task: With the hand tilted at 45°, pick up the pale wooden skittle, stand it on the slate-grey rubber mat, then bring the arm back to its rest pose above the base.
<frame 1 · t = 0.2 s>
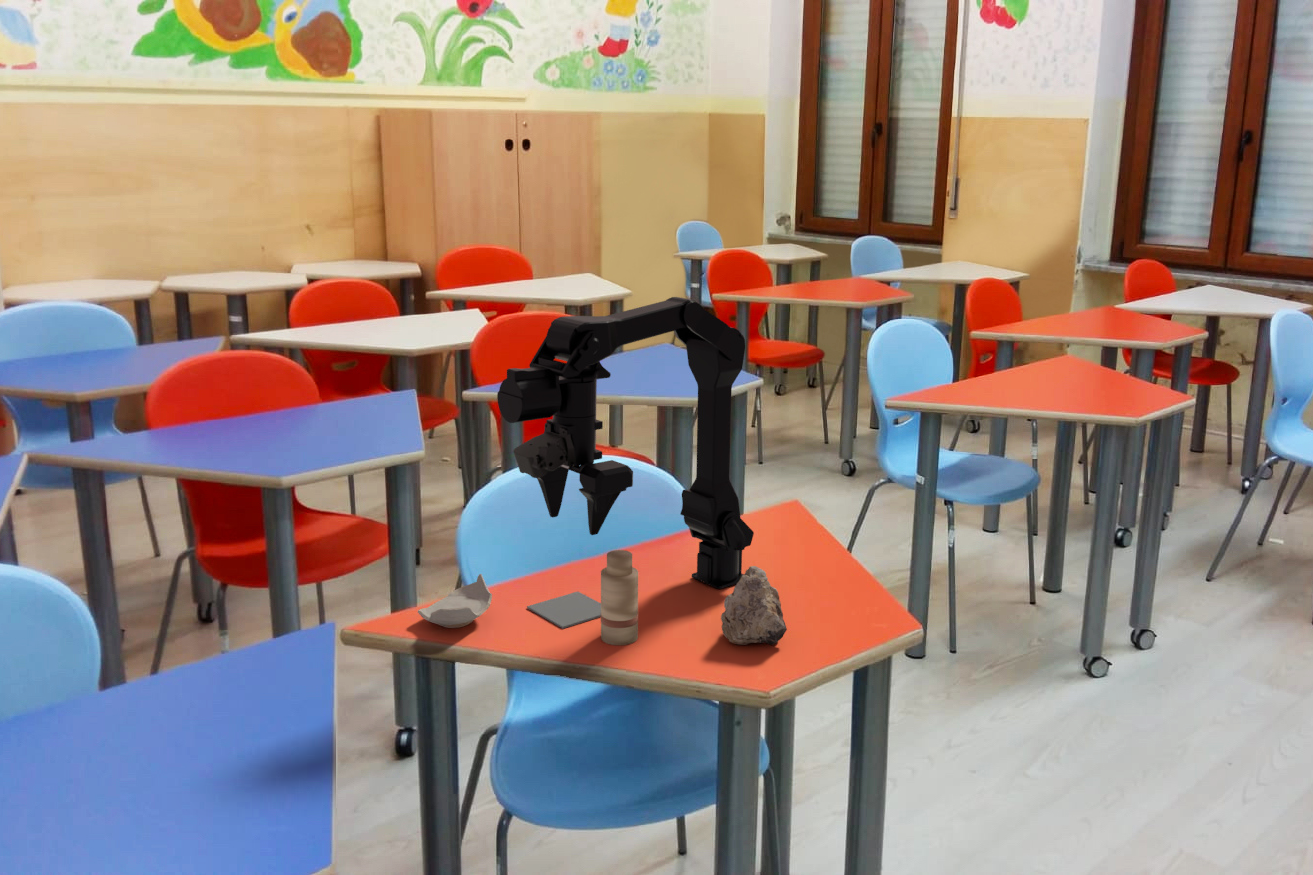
hand: (573, 525, 151), 15 cm above the table, fingers open, 9 cm apart
mat: (570, 610, 160), on the table
pottery shard: (455, 624, 156), on the table
rock: (747, 639, 152), on the table
skittle: (619, 637, 152), on the table
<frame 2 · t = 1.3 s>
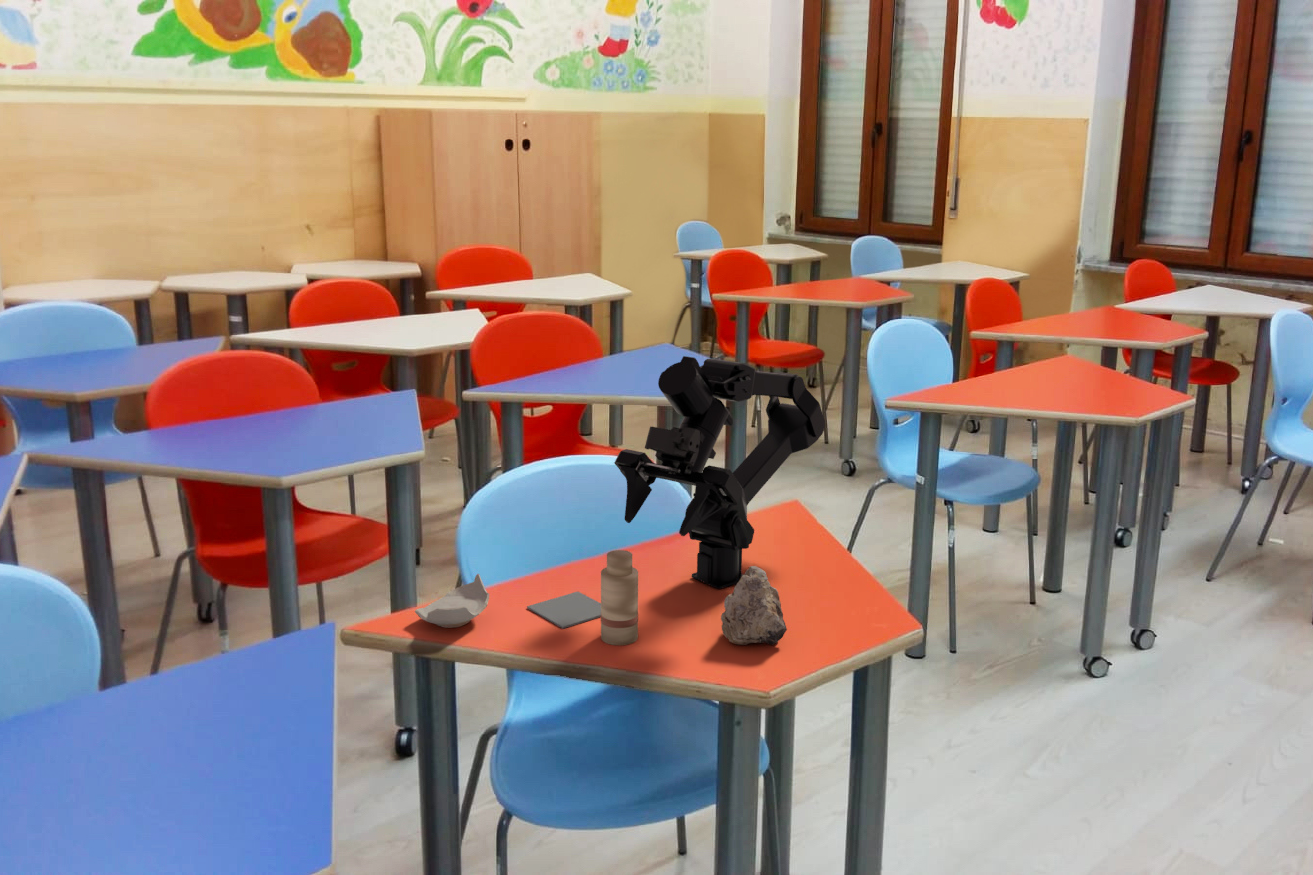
hand: (653, 528, 155), 13 cm above the table, fingers open, 9 cm apart
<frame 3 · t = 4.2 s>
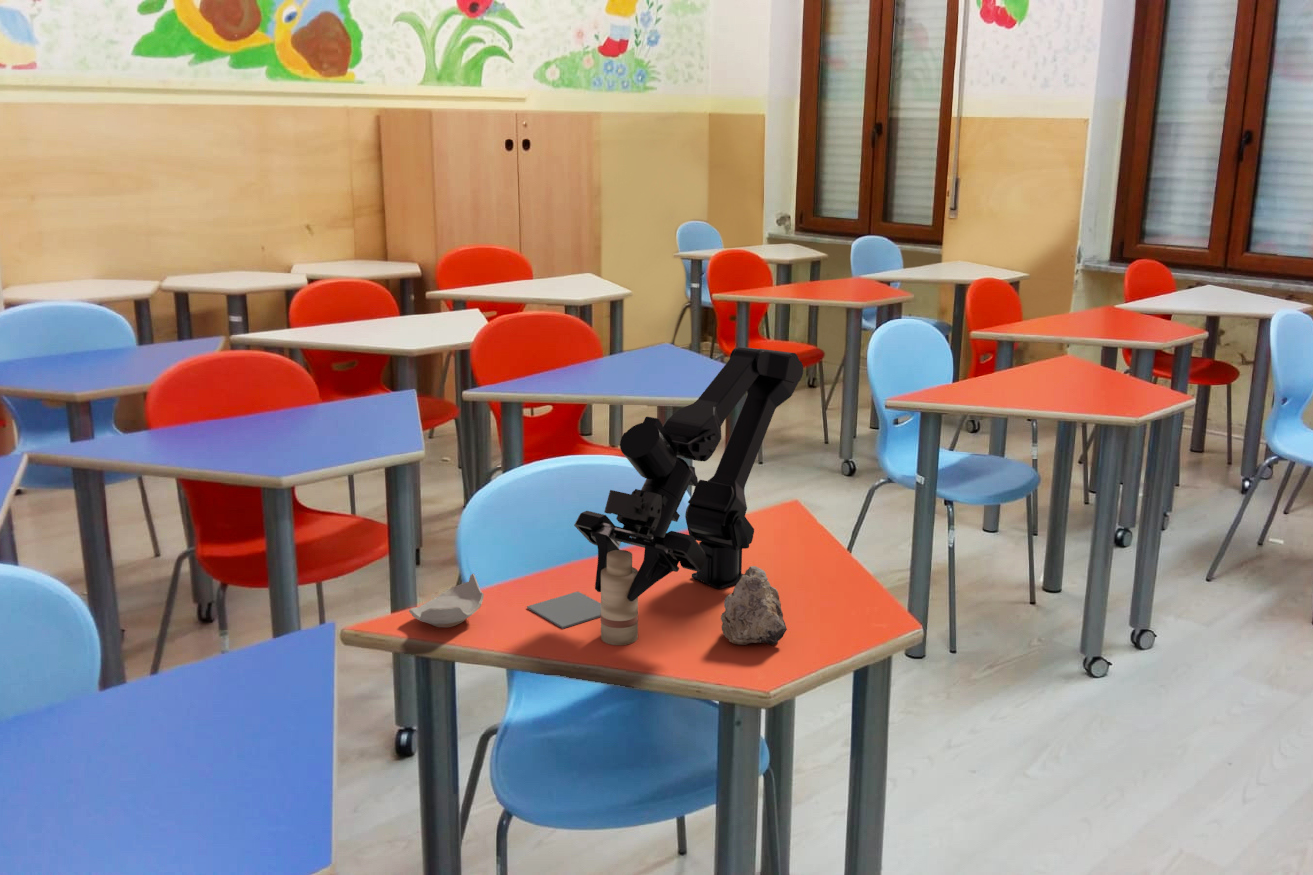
hand: (613, 595, 149), 7 cm above the table, fingers closed on skittle, 5 cm apart
skittle: (619, 637, 152), on the table, touching gripper
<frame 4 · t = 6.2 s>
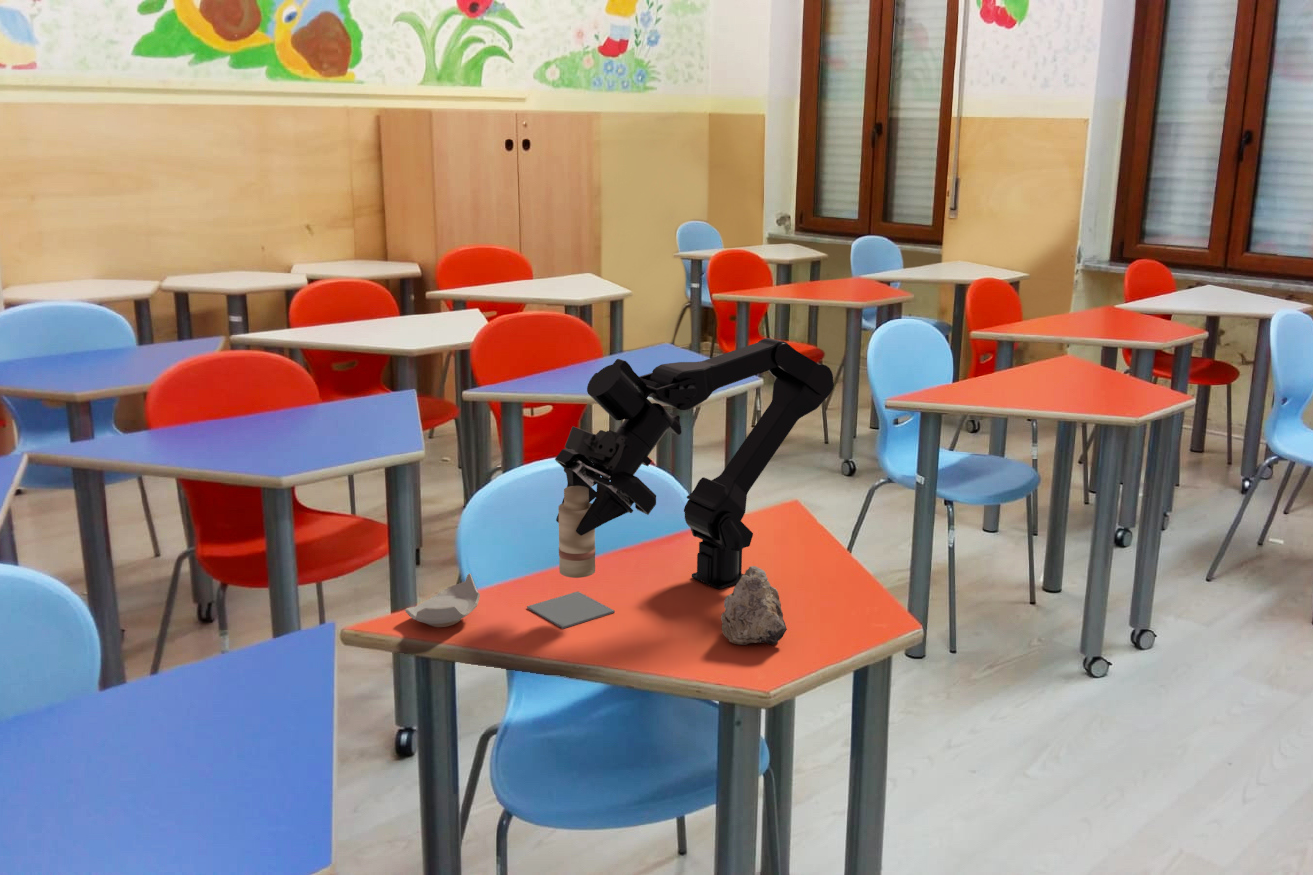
hand: (568, 528, 154), 13 cm above the table, fingers closed on skittle, 5 cm apart
skittle: (577, 570, 156), point 7 cm above the table, touching gripper
when the fingers open (8 cm above the table, at t = 8.1 s): skittle stays where it is, resting on mat.
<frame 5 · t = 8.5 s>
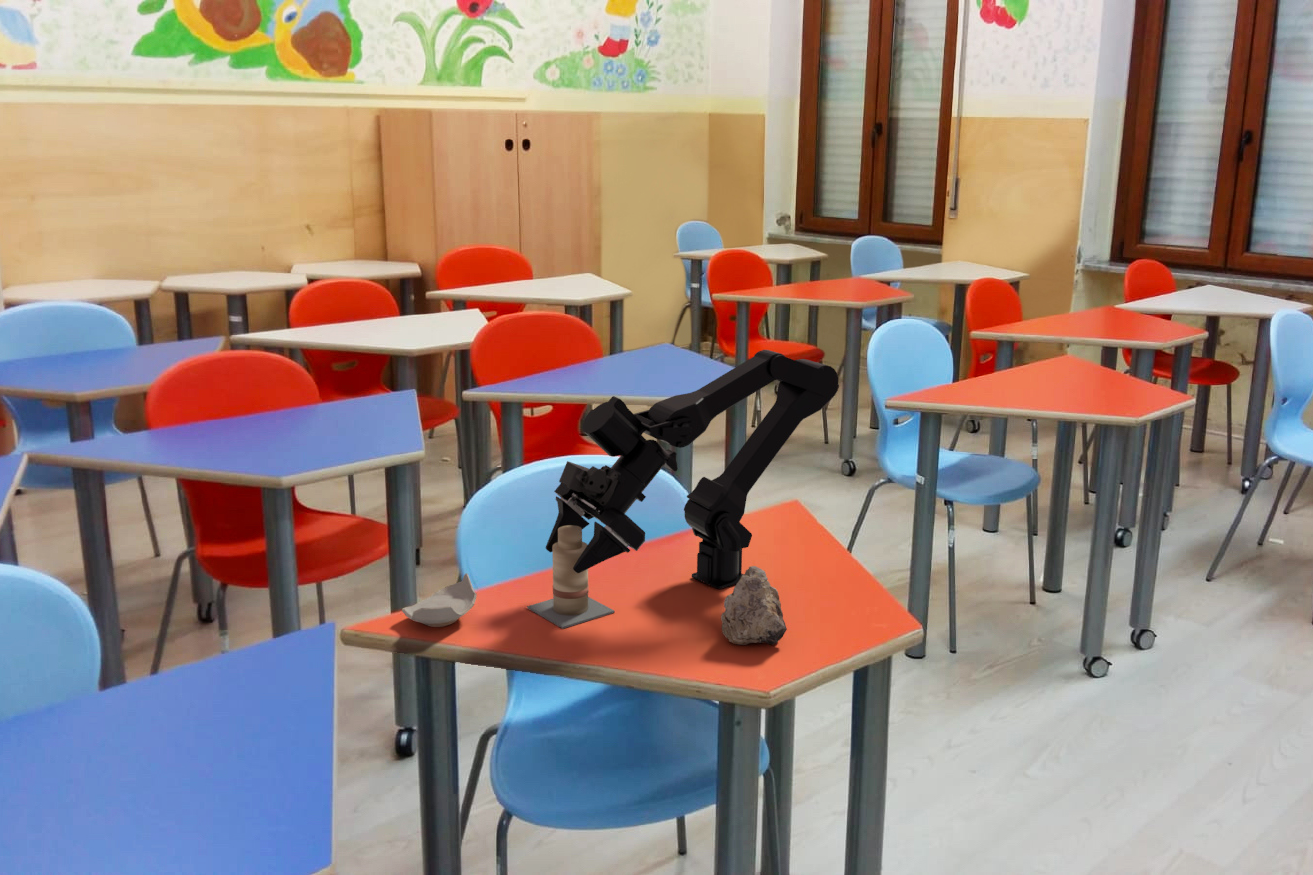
hand: (561, 560, 157), 8 cm above the table, fingers open, 9 cm apart
skittle: (570, 608, 160), resting on mat
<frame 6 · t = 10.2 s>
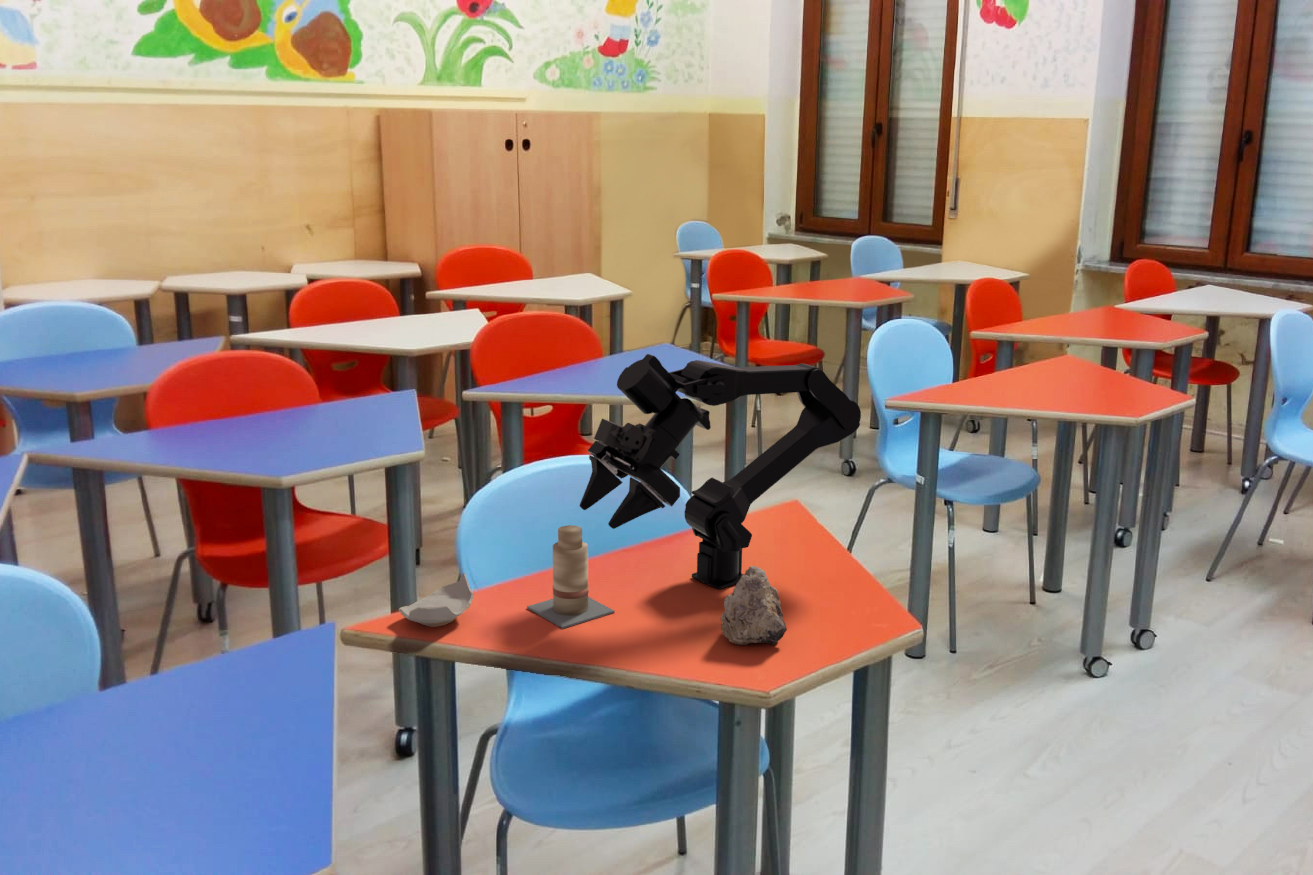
hand: (595, 517, 159), 13 cm above the table, fingers open, 9 cm apart
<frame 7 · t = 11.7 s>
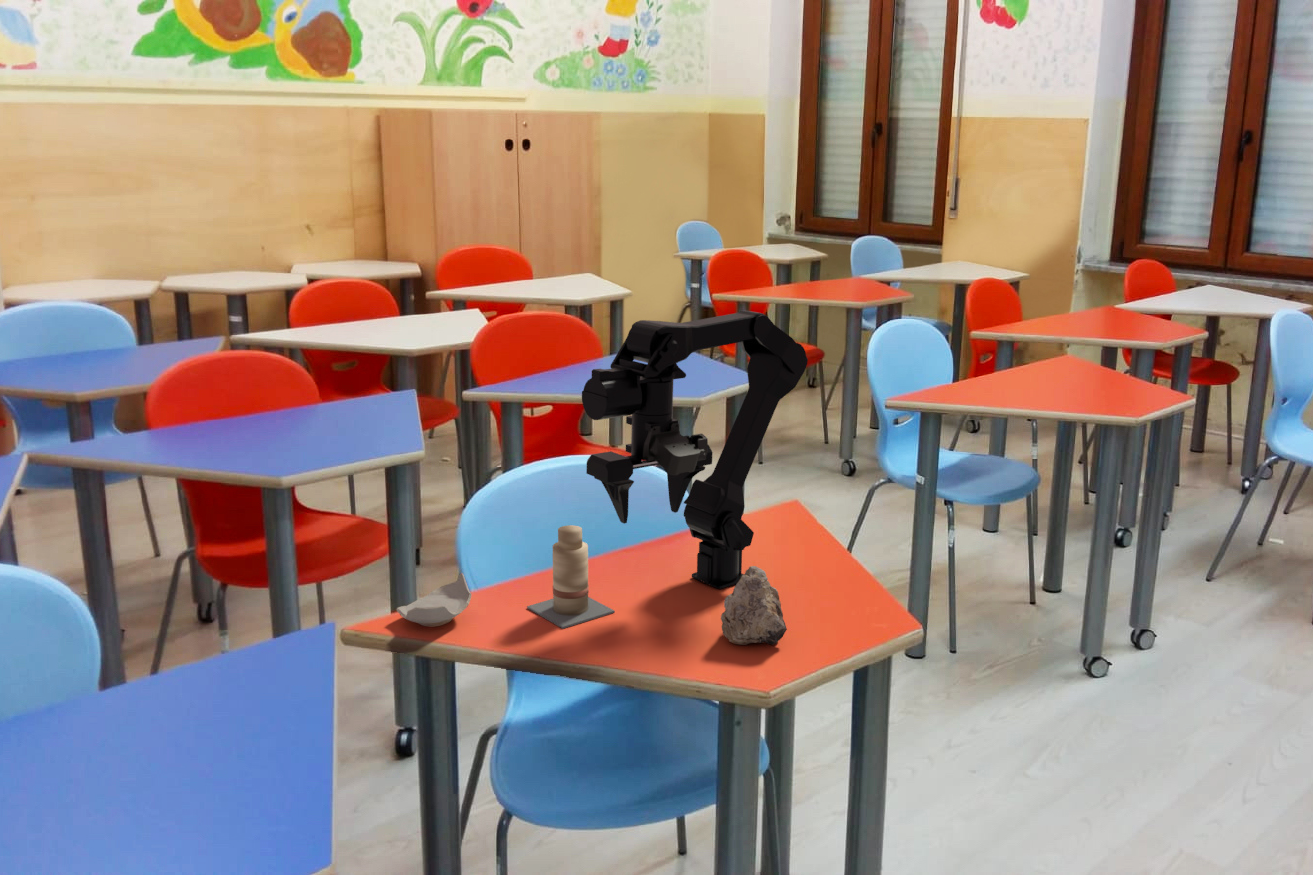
hand: (649, 517, 160), 13 cm above the table, fingers open, 9 cm apart
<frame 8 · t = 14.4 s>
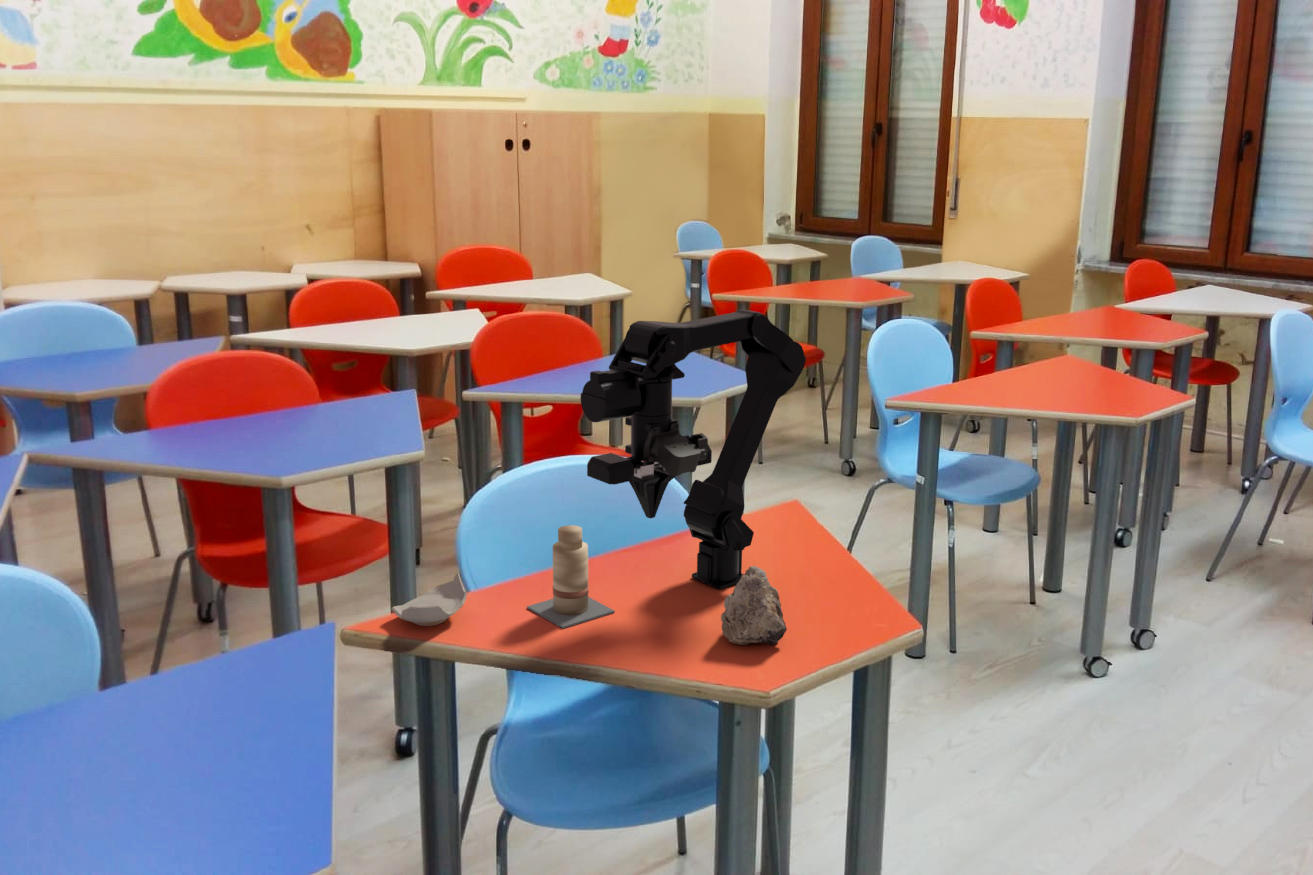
hand: (650, 517, 160), 13 cm above the table, fingers closed
at the end: skittle 0.0 cm off-centre on the mat, point 0.3 cm above the mat's base; skittle tilted 0°; the gripper is holding nothing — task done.
